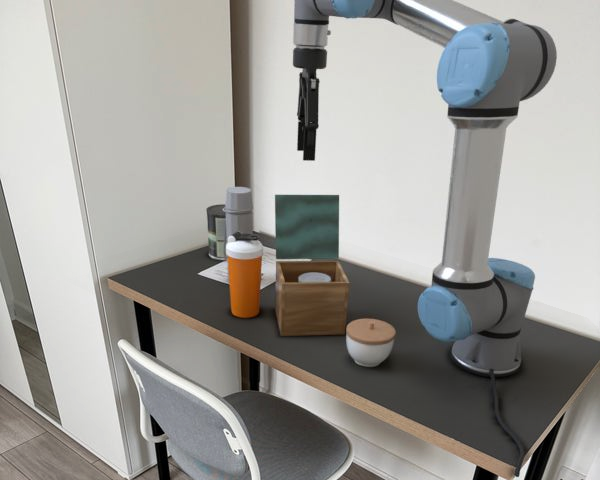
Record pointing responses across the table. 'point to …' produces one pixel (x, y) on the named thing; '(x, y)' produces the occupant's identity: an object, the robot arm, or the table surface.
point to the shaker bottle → (244, 273)
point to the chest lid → (307, 226)
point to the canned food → (314, 277)
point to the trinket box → (369, 341)
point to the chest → (311, 299)
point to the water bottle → (238, 213)
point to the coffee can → (216, 231)
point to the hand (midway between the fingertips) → (305, 155)
